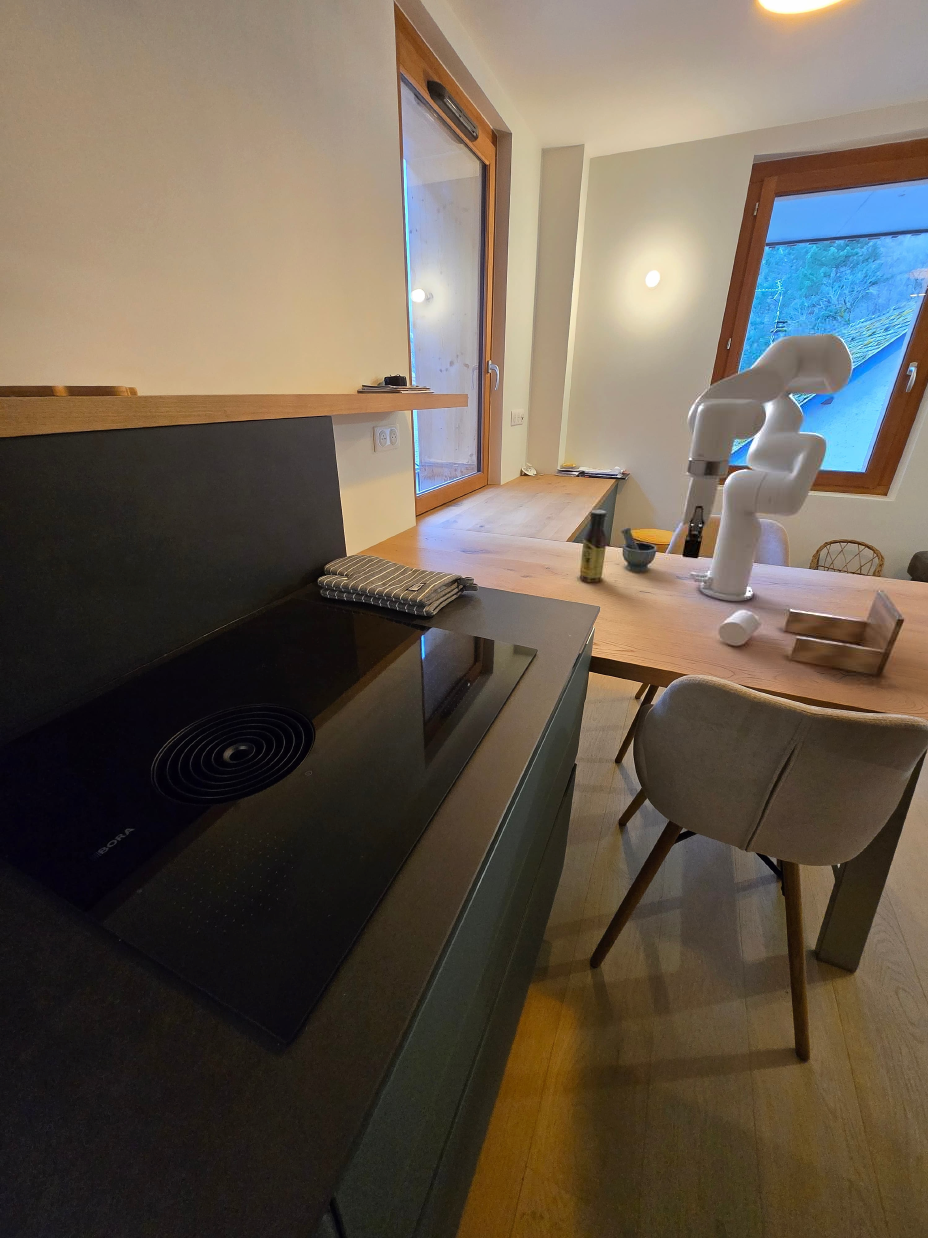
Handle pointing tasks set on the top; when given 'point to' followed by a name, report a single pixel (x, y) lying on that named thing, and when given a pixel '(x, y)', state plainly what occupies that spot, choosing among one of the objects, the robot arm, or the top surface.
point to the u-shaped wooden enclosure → (847, 637)
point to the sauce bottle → (594, 548)
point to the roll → (739, 628)
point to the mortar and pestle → (637, 552)
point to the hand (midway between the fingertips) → (690, 554)
